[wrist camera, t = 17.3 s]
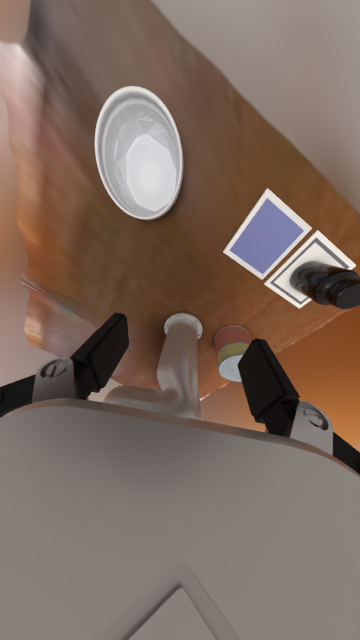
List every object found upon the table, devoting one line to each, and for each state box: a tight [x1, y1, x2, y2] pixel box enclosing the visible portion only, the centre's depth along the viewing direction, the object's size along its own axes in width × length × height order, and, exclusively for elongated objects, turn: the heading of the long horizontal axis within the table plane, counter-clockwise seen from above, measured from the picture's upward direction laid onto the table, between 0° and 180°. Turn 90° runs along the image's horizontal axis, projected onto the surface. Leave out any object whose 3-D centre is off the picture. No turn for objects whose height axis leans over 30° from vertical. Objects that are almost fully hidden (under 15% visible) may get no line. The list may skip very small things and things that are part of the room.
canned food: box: [214, 325, 252, 382], centre depth 41 cm, size 11×11×12 cm
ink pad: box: [223, 188, 312, 280], centre depth 29 cm, size 12×12×1 cm
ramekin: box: [95, 86, 183, 220], centre depth 23 cm, size 13×13×7 cm
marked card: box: [264, 230, 356, 309], centre depth 32 cm, size 13×13×1 cm
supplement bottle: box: [290, 261, 360, 309], centre depth 27 cm, size 7×7×12 cm
